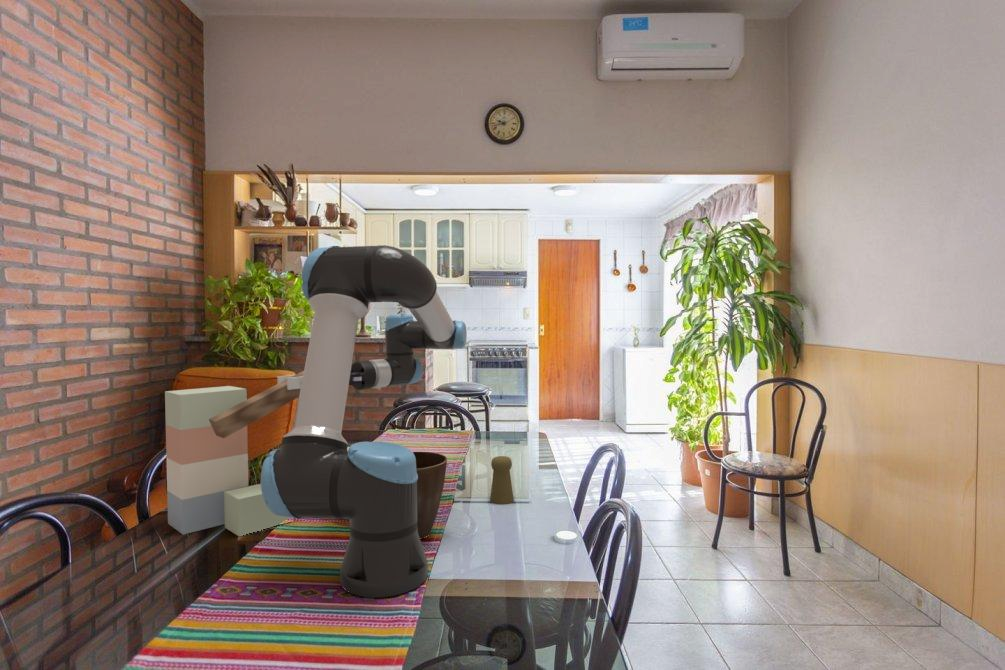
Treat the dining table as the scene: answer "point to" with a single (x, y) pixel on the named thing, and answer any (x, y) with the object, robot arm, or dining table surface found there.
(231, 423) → the walnut bar
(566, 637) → the dining table surface
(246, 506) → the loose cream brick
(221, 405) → the brick tower
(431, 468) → the plant pot
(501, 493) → the cork
